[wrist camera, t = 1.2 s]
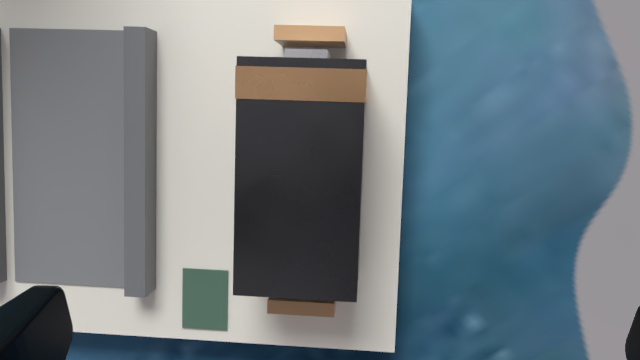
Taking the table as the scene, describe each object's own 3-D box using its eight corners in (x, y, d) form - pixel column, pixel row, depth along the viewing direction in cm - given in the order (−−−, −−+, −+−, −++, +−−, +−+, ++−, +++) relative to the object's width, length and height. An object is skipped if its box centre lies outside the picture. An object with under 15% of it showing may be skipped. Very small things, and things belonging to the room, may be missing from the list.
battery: (359, 269, 23) (357, 302, 19) (255, 264, 23) (231, 295, 19) (368, 58, 22) (368, 45, 18) (259, 55, 22) (235, 42, 18)
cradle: (392, 329, 26) (396, 374, 21) (-8, 305, 27) (-82, 342, 23) (408, -6, 24) (416, -33, 20) (-16, -12, 26) (-98, -40, 21)
